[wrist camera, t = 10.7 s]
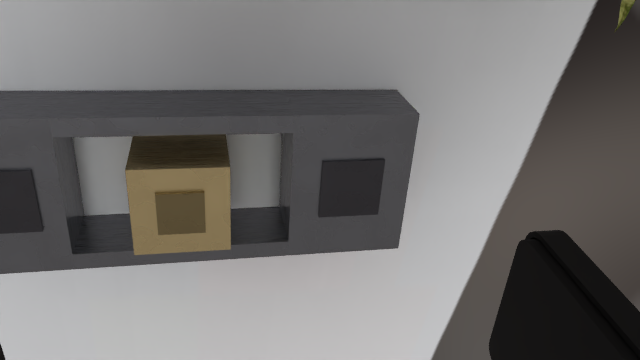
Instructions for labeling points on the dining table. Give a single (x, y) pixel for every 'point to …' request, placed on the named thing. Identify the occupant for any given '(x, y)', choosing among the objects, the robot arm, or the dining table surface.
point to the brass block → (179, 193)
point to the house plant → (624, 10)
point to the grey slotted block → (207, 119)
